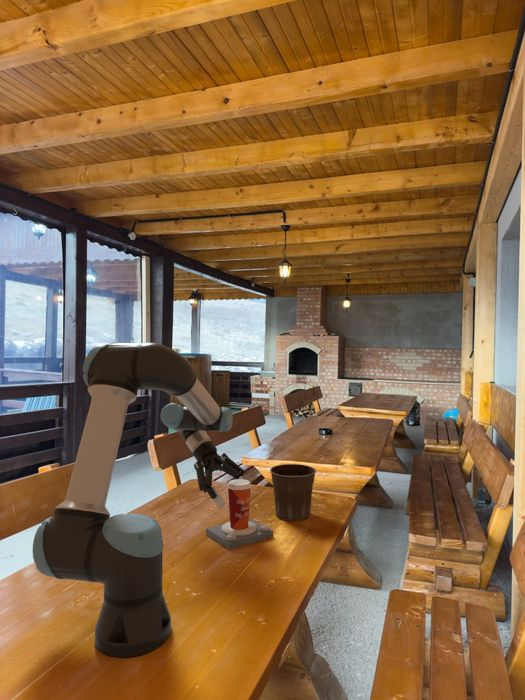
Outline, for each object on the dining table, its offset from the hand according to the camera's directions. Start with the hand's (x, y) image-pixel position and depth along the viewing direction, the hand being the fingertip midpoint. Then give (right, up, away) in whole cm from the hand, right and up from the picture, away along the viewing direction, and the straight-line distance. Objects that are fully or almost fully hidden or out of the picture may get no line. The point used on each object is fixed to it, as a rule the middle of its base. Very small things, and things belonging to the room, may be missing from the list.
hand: (236, 500), depth 148 cm
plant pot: (+19, -11, +17) cm, 27 cm away
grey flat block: (+1, -11, -1) cm, 11 cm away
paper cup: (+1, -8, -1) cm, 8 cm away
